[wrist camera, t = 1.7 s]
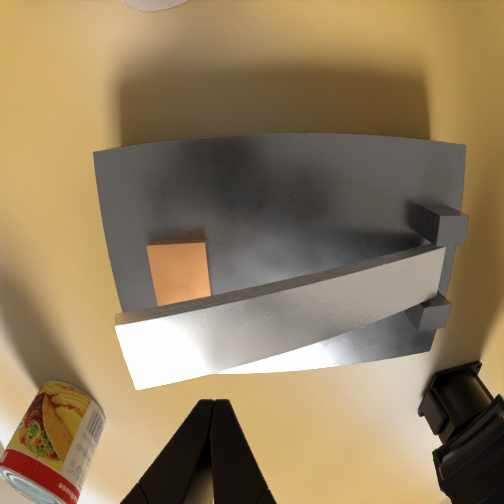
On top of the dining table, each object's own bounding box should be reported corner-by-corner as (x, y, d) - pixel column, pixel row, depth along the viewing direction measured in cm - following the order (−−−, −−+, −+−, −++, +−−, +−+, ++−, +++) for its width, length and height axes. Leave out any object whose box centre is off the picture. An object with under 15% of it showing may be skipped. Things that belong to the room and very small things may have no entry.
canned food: (30, 376, 25) (-20, 457, 14) (88, 383, 25) (42, 484, 14) (60, 423, 28) (26, 500, 17) (116, 432, 28) (88, 522, 17)
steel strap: (435, 242, 15) (445, 246, 15) (426, 290, 17) (436, 295, 16) (115, 314, 10) (115, 326, 10) (135, 376, 11) (136, 389, 11)
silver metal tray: (430, 140, 18) (487, 149, 12) (408, 321, 23) (441, 368, 17) (121, 146, 18) (73, 156, 12) (154, 337, 23) (133, 392, 17)
